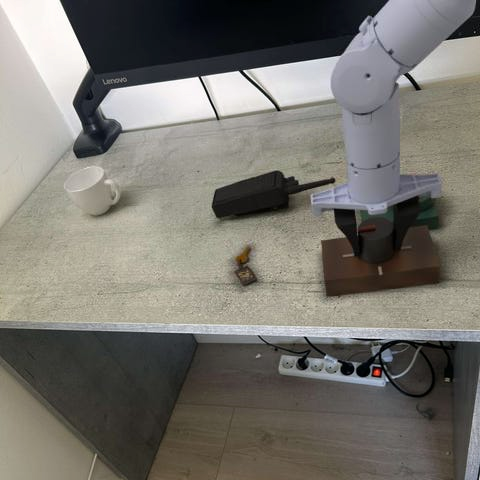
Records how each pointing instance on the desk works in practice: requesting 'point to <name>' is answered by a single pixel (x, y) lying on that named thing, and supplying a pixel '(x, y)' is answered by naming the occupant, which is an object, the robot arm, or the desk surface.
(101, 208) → the cup
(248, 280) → the key tag
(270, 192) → the walkie-talkie
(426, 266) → the lock panel
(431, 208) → the button block
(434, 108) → the desk surface
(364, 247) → the knob
